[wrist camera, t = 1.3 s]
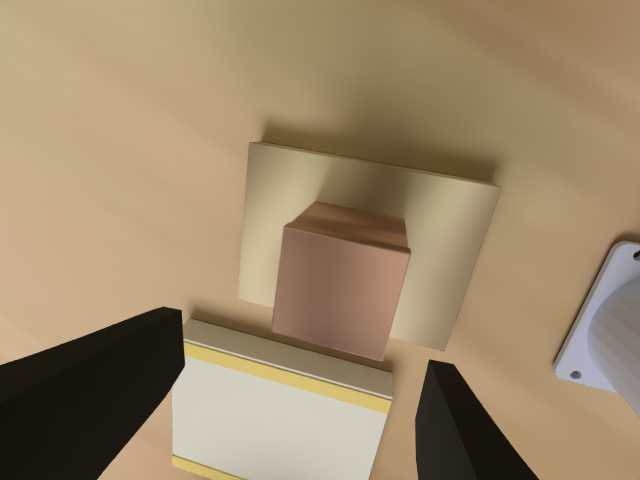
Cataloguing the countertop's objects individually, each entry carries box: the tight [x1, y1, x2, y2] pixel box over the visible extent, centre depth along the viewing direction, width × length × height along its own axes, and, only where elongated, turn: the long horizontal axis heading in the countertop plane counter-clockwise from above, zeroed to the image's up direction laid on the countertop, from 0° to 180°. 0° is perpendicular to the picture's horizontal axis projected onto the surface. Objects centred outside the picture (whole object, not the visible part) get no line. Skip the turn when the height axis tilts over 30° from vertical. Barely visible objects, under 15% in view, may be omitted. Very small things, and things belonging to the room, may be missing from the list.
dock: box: [172, 319, 393, 480], centre depth 23 cm, size 14×12×2 cm
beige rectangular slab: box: [238, 142, 501, 351], centre depth 18 cm, size 12×9×2 cm
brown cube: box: [271, 201, 411, 361], centre depth 15 cm, size 5×5×5 cm
